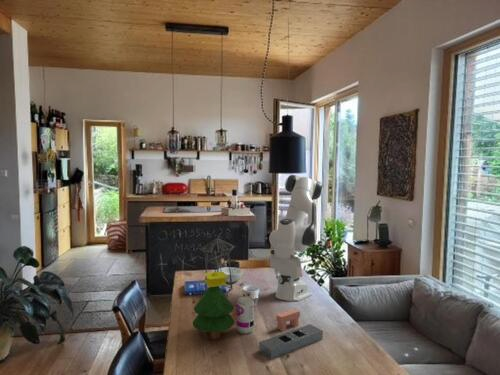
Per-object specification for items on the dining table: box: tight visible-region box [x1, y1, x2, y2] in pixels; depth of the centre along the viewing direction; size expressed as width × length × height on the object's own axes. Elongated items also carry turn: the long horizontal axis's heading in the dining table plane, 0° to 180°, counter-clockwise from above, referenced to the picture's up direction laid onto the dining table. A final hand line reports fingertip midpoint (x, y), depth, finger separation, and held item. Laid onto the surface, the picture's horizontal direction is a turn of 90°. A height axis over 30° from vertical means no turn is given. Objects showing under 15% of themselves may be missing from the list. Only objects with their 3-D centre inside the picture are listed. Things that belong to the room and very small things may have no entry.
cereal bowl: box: [219, 266, 243, 284], centre depth 244 cm, size 17×17×7 cm
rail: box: [258, 323, 324, 360], centre depth 161 cm, size 30×8×4 cm, turn 125°
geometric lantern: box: [200, 237, 235, 298], centre depth 214 cm, size 16×16×35 cm
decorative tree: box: [191, 271, 235, 340], centre depth 168 cm, size 19×19×30 cm
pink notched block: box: [275, 308, 301, 332], centre depth 178 cm, size 12×4×7 cm, turn 125°
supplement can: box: [236, 296, 255, 334], centre depth 174 cm, size 8×8×15 cm
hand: (284, 281), depth 178 cm, fingers open, 8 cm apart
